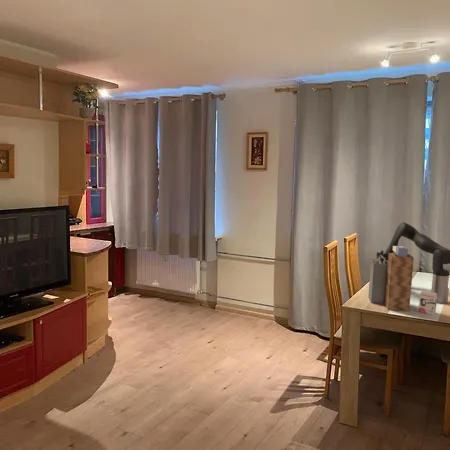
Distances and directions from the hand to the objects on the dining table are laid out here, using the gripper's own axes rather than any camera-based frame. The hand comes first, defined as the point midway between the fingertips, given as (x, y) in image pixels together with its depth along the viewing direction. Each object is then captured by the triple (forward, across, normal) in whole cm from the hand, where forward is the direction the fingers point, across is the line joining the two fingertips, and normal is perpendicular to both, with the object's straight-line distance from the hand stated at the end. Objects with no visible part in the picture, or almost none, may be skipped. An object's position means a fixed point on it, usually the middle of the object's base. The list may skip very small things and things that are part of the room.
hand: (389, 252), depth 307 cm
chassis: (+2, -8, +34) cm, 35 cm away
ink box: (+17, +17, +42) cm, 49 cm away
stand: (+14, +1, +40) cm, 42 cm away
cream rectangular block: (+24, +1, +9) cm, 26 cm away
